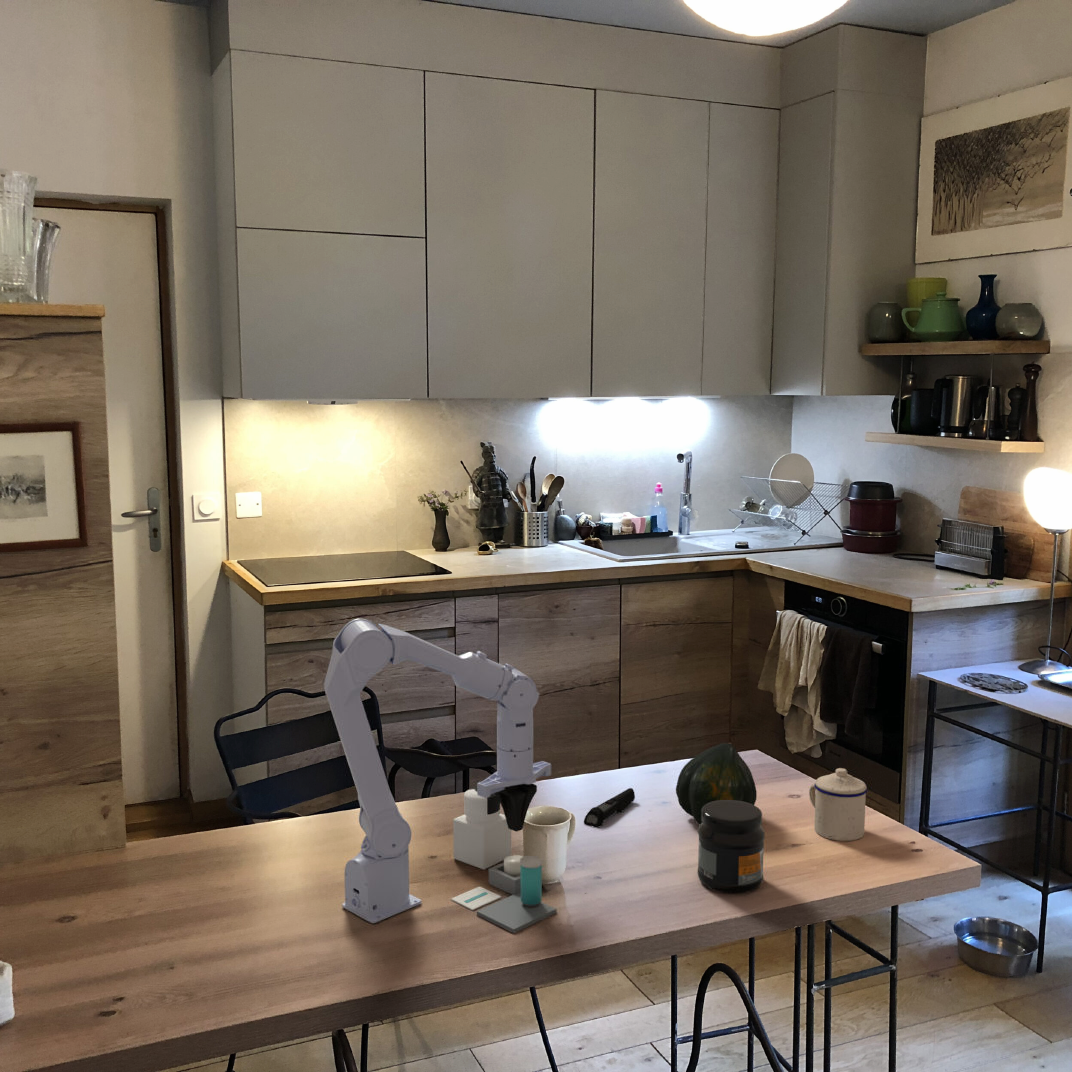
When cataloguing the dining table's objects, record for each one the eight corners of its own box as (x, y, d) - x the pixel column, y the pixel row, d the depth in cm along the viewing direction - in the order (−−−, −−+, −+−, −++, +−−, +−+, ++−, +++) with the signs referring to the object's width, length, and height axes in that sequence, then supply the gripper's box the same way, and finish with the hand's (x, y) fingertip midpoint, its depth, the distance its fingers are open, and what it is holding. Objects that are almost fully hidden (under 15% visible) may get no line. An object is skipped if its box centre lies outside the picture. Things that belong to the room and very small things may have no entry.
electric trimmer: (640, 804, 208) (640, 788, 208) (599, 829, 195) (599, 812, 195) (623, 801, 210) (623, 785, 210) (581, 825, 197) (582, 808, 197)
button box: (514, 895, 169) (514, 880, 168) (488, 883, 173) (488, 868, 173) (541, 883, 173) (541, 868, 173) (515, 872, 177) (515, 857, 177)
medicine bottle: (481, 845, 188) (480, 779, 186) (512, 856, 183) (512, 788, 182) (452, 859, 182) (452, 790, 181) (484, 870, 178) (483, 800, 176)
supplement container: (777, 886, 172) (779, 814, 171) (726, 902, 167) (728, 827, 165) (733, 862, 181) (734, 793, 180) (683, 876, 176) (685, 805, 174)
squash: (658, 800, 194) (715, 743, 191) (666, 776, 209) (720, 722, 205) (716, 857, 193) (775, 800, 189) (720, 828, 207) (775, 775, 204)
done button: (514, 882, 170) (515, 866, 170) (499, 875, 173) (499, 859, 172) (531, 875, 173) (531, 859, 172) (515, 868, 175) (515, 853, 175)
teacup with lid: (876, 836, 192) (879, 773, 191) (838, 846, 188) (841, 781, 186) (827, 813, 202) (830, 753, 201) (791, 822, 198) (793, 761, 197)
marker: (531, 910, 162) (531, 866, 162) (515, 903, 165) (515, 859, 164) (546, 903, 165) (546, 859, 164) (531, 896, 167) (531, 853, 166)
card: (472, 910, 164) (472, 908, 164) (450, 899, 167) (450, 898, 167) (501, 897, 168) (501, 896, 168) (479, 887, 171) (479, 886, 171)
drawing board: (513, 933, 157) (513, 929, 157) (476, 914, 162) (476, 911, 162) (556, 912, 163) (556, 908, 163) (519, 895, 169) (519, 891, 169)
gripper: (499, 763, 162) (499, 849, 164) (564, 741, 172) (564, 823, 174) (467, 752, 167) (468, 836, 169) (533, 732, 177) (533, 811, 179)
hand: (515, 828), depth 172 cm, fingers closed
